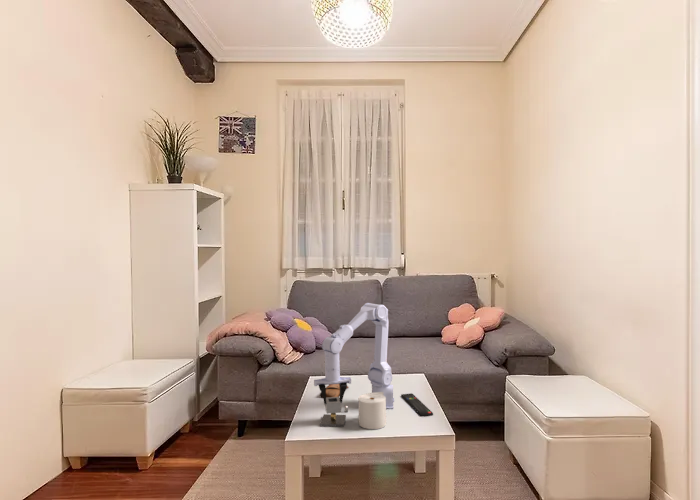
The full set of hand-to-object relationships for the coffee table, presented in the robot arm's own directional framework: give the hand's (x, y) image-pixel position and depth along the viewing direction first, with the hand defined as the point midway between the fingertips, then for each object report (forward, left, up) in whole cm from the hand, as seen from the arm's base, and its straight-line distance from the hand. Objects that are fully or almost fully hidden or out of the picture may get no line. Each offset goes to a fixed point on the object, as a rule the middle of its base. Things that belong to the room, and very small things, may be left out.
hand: (333, 402), depth 166 cm
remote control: (-33, -19, -8) cm, 39 cm away
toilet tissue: (-15, 0, -8) cm, 17 cm away
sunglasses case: (+4, -33, -8) cm, 34 cm away
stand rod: (-4, -10, -8) cm, 13 cm away
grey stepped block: (0, 0, -3) cm, 3 cm away
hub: (0, 0, -8) cm, 8 cm away
